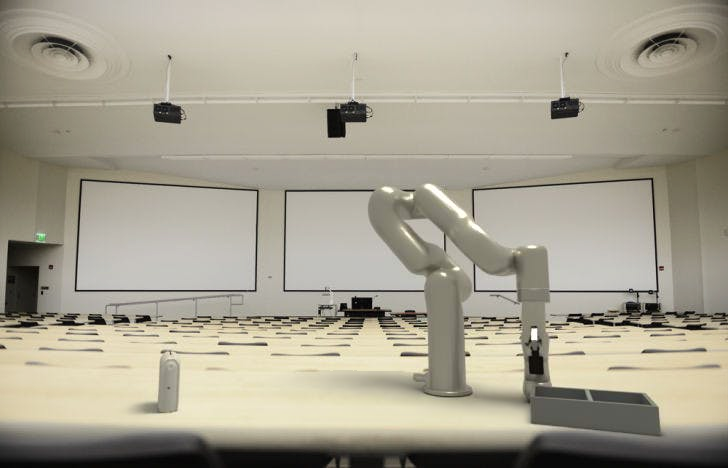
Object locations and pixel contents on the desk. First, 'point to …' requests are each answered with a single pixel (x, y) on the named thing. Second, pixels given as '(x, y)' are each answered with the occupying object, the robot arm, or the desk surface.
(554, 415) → the grey divided tray
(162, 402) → the grey rounded block
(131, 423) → the desk surface
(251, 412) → the desk surface
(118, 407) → the desk surface
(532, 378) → the plastic bottle
